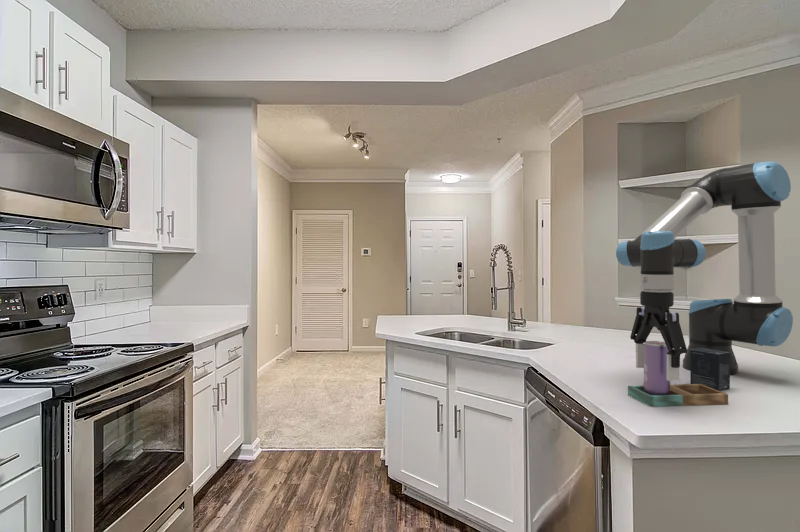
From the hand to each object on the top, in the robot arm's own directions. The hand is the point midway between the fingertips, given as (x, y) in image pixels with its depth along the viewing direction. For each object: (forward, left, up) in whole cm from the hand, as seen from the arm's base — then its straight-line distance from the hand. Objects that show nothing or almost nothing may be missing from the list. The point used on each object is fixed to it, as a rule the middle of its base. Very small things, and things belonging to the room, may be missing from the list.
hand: (656, 373), depth 119 cm
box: (-22, -10, -7) cm, 26 cm away
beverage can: (0, 0, -7) cm, 7 cm away
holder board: (-5, 0, -7) cm, 9 cm away
